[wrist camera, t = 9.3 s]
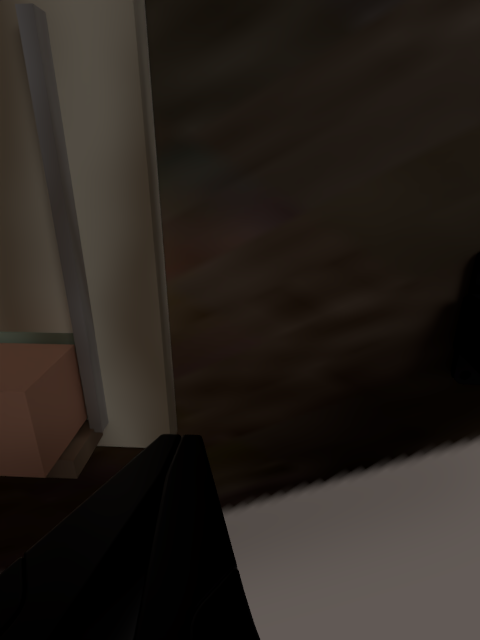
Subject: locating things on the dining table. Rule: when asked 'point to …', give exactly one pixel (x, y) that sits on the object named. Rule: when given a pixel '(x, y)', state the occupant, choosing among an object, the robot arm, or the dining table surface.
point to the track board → (85, 212)
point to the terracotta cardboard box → (38, 406)
